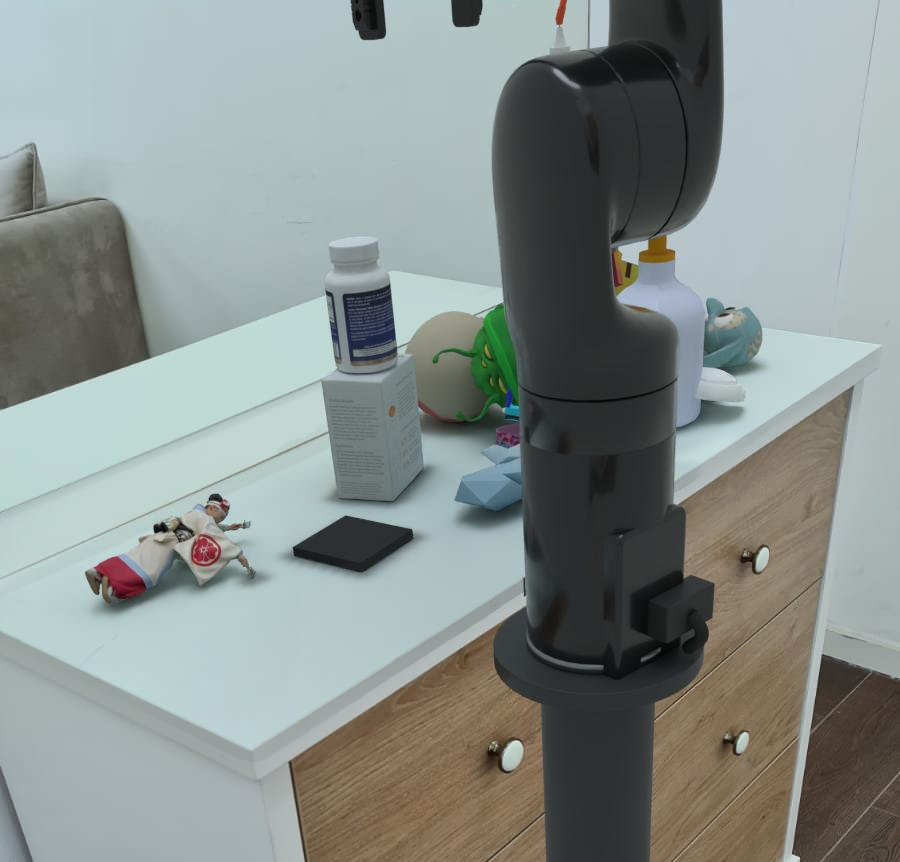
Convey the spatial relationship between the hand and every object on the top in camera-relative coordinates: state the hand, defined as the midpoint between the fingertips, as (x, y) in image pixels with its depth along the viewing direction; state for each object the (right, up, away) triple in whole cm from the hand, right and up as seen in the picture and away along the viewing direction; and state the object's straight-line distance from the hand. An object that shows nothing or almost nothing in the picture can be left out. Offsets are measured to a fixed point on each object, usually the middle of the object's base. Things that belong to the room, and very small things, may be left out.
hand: (421, 32), depth 82 cm
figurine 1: (-18, -36, +11) cm, 42 cm away
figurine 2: (+7, -13, +30) cm, 34 cm away
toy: (+15, -2, +39) cm, 41 cm away
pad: (-6, -33, +14) cm, 36 cm away
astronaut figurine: (+23, -11, +39) cm, 47 cm away
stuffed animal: (+30, -7, +45) cm, 54 cm away
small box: (-4, -25, +24) cm, 35 cm away
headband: (+11, -22, +29) cm, 38 cm away
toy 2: (+5, -9, +30) cm, 31 cm away
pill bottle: (-5, -17, +18) cm, 25 cm away
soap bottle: (+22, -16, +33) cm, 43 cm away
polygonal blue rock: (+8, -28, +19) cm, 35 cm away
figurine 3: (+6, -20, +22) cm, 31 cm away
